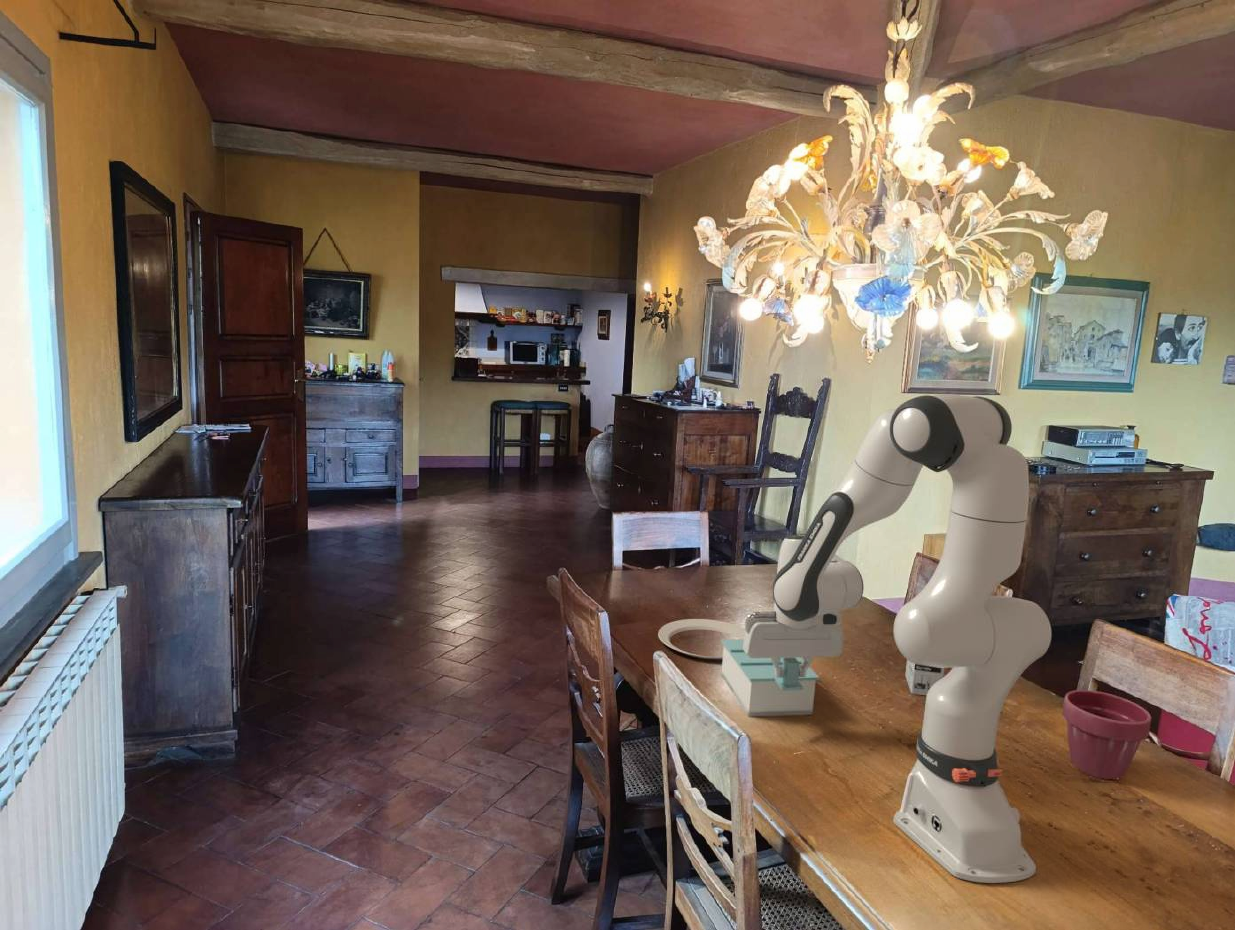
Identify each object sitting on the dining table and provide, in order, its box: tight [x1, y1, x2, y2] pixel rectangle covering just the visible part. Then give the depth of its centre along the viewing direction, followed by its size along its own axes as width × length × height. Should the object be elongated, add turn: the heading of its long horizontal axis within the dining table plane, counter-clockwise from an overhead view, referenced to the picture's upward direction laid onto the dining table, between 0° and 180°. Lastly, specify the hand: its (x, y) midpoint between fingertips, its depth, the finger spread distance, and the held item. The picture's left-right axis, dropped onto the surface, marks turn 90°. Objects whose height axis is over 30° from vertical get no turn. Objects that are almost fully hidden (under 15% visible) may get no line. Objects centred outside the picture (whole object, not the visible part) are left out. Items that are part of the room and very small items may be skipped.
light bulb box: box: [904, 659, 946, 697], centre depth 188 cm, size 11×7×11 cm, turn 168°
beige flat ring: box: [657, 618, 746, 660], centre depth 207 cm, size 26×26×2 cm
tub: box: [720, 645, 817, 717], centre depth 180 cm, size 20×14×8 cm
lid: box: [720, 638, 820, 691], centre depth 176 cm, size 25×15×7 cm, turn 9°
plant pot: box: [1062, 689, 1152, 780], centre depth 155 cm, size 14×14×13 cm
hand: (789, 676), depth 166 cm, fingers open, 3 cm apart
